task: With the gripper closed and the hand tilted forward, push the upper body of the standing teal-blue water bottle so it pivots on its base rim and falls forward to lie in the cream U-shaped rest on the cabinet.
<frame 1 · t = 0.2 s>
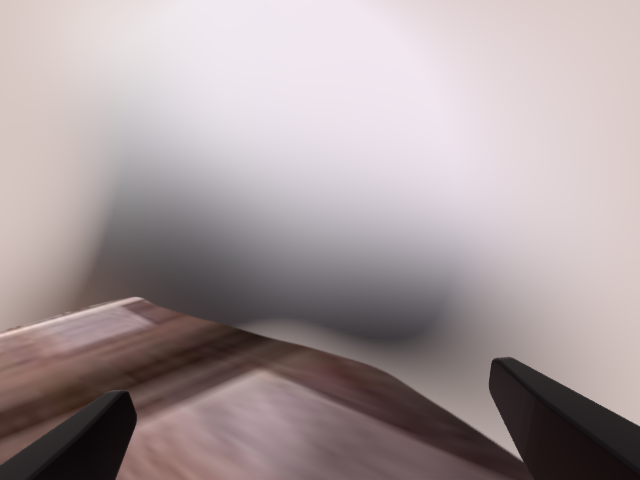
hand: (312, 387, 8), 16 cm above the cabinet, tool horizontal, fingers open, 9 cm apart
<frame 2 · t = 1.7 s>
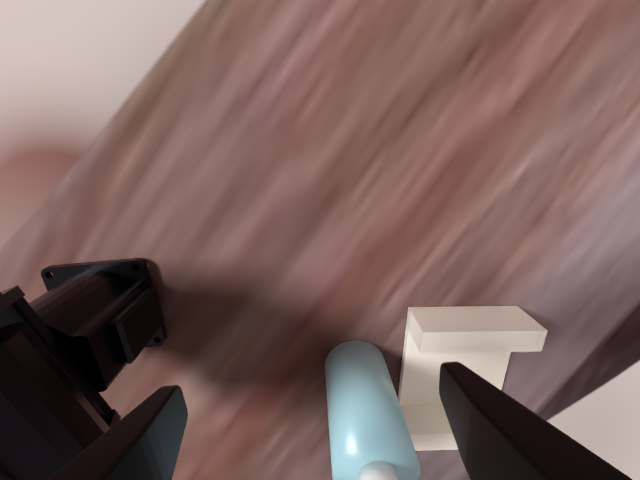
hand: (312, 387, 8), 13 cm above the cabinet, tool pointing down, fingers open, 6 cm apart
bottle: (354, 365, 24), on the cabinet
u rest: (452, 364, 24), on the cabinet
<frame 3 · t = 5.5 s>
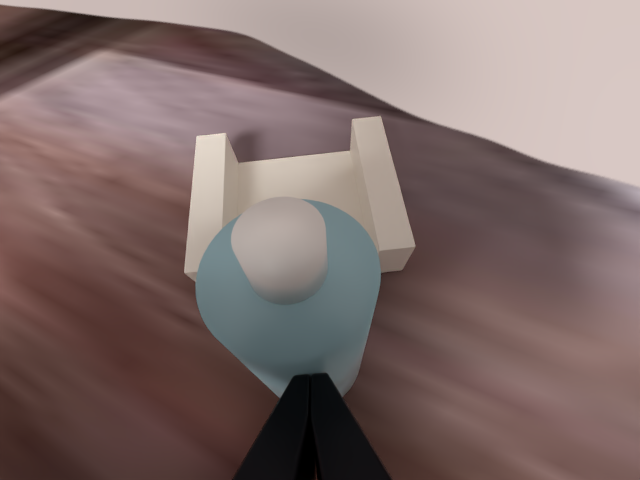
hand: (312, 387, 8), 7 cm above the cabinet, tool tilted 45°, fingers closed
bottle: (311, 353, 14), on the cabinet, tilted 9°
u rest: (300, 215, 18), on the cabinet
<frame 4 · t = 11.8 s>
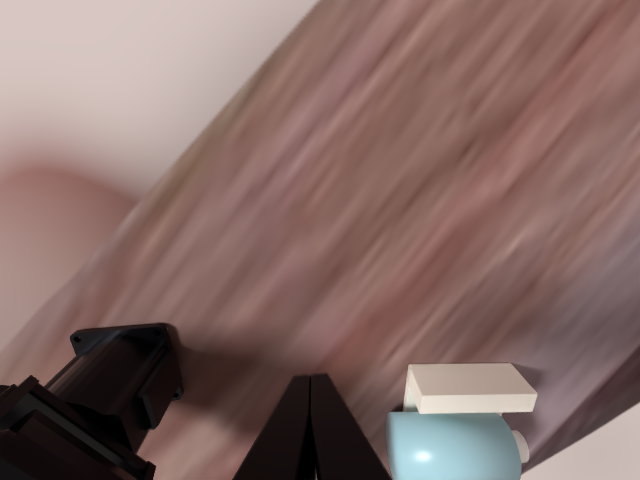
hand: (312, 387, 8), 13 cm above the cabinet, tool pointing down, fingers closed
bottle: (393, 447, 23), point 3 cm above the cabinet, tilted 90°, touching u rest
u rest: (450, 414, 25), on the cabinet
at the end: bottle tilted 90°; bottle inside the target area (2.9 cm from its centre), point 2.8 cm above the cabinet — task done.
